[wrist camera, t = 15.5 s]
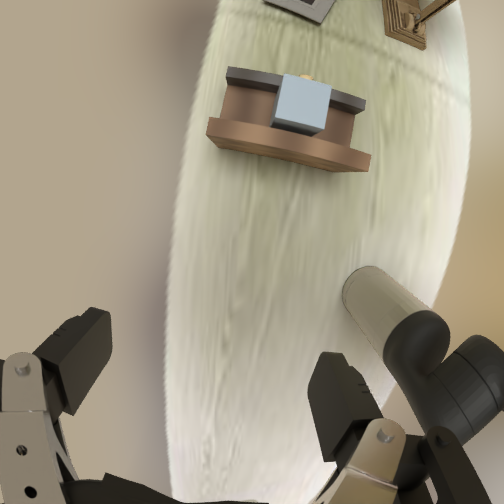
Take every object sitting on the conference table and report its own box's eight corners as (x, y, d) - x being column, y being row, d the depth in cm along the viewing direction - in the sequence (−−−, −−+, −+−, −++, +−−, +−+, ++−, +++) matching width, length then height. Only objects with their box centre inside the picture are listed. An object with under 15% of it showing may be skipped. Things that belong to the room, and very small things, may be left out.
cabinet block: (312, 101, 33) (333, 78, 24) (304, 141, 35) (324, 129, 25) (276, 92, 33) (285, 65, 23) (267, 132, 35) (275, 117, 25)
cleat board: (345, 112, 38) (380, 91, 26) (334, 172, 41) (368, 171, 28) (231, 86, 37) (225, 52, 25) (218, 147, 40) (205, 134, 27)
